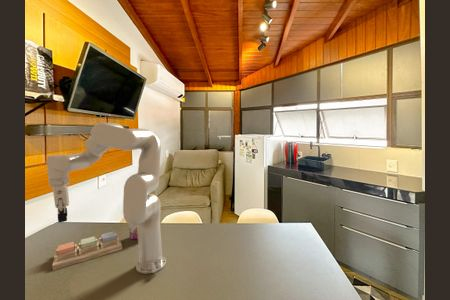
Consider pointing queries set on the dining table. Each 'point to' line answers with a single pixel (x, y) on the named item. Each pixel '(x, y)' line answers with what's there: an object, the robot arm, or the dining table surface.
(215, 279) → the dining table surface
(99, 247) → the button panel
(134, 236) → the candy bar box
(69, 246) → the terracotta button
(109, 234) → the slate button
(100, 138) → the robot arm
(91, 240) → the sage button
